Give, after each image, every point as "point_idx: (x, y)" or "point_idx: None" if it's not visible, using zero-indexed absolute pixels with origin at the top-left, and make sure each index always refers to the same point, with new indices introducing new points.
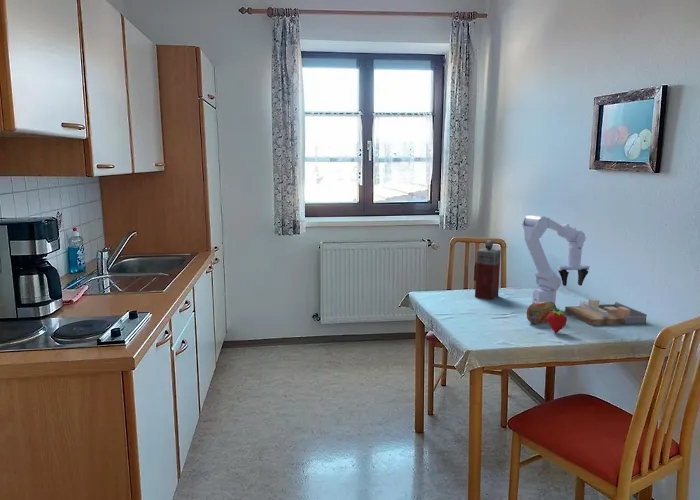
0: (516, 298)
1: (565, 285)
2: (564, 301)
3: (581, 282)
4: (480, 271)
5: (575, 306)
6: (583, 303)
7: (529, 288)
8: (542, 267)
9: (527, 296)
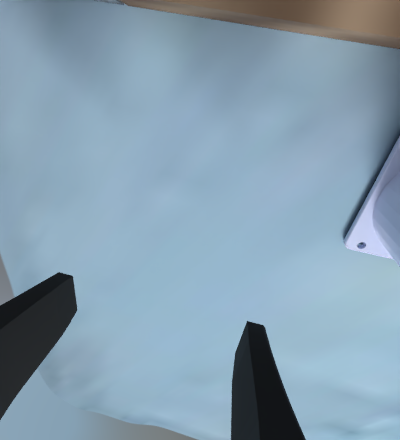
0: (380, 390)
1: (259, 328)
2: (178, 277)
3: (38, 297)
4: None
5: (334, 20)
6: None
7: (186, 431)
8: None
9: (291, 387)
